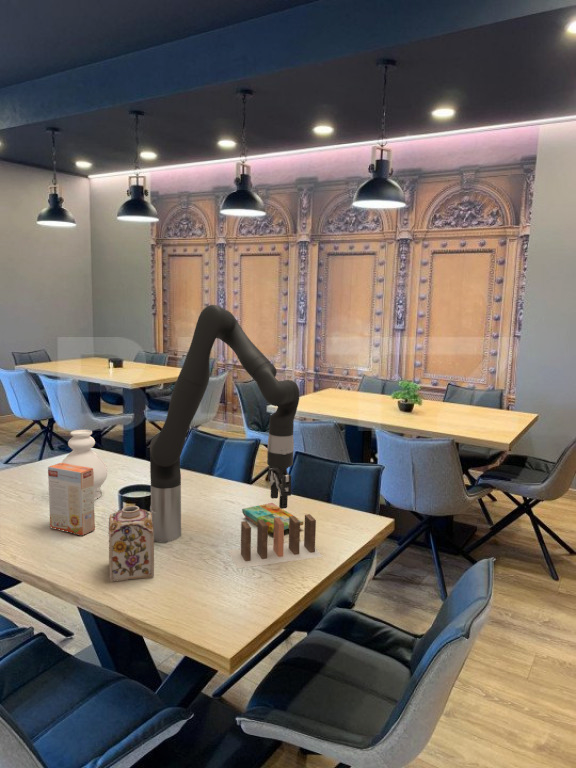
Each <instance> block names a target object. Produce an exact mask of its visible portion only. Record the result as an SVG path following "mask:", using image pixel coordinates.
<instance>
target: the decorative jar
mask: <svg viewBox="0 0 576 768" xmlns="http://www.w3.org/2000/svg"><path fill="white" fill-rule="evenodd" d="M108 520H109V521H108V566H109V567H108V568H109V570H108V571H109V575H108V577H109V582H110V581H114V582H120V581H119V580H123V581H129V580H128V579H132V580H139V579H140V578H142V579H149V578H154V576H155V541H154V529H153V522H152V521H153V520H152V514H151V512H150V510H149V511H148V510H147V509H142V508H140V507H139V506H137V505H127V506H125V507H123V508H121V510H118V511H116V512H113V513H111V514H110V515H109V517H108ZM117 580H118V581H117Z"/></svg>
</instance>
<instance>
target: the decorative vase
mask: <svg viewBox="0 0 576 768" xmlns="http://www.w3.org/2000/svg"><path fill="white" fill-rule="evenodd" d="M92 434H93V431H92V429H91V430H90V429H75V430H72V431H70V436H72V437H71V438H70V439H69V440H68V442H67V445H68V448H70V449H71V450H72V451H70V452H69V453H68V454H67V455H66V457H65V458H64V459H63V460H62V461H61V463H65V464H71V465H77V466H82V467H88V468H93V477H94V501H96V500H98V499H100V498H101V495H102V494H101V492H100V491H99V489H100V488H101V487H102V485H103V484H104V482H106V480H107V477H108V474H109V473H108V471H109V470H108V468H107V465H106V463H105V461H104V460H103V458H102V457H100V455H99V454H97V453H96V452H95V451H94V450H93V449H92V448H93V447H94V446H95V444H96V441H95V439H94V437H92V436H91V435H92ZM99 497H100V498H99ZM97 498H98V499H97ZM95 499H96V500H95Z"/></svg>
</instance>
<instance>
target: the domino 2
mask: <svg viewBox="0 0 576 768" xmlns="http://www.w3.org/2000/svg"><path fill="white" fill-rule="evenodd" d="M256 527H257V529H256V530H257V531H256V533H257V535H256V536H257V538H256V539H257V541H256V547H257V553H258V554H259V556H260V557H261V559H267V545H268V536H269V535H268V534H269V533H268V525H267V524H266V523H265V522H264V520H263V519H261V520H258V526H257V525H256Z"/></svg>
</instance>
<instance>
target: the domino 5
mask: <svg viewBox="0 0 576 768" xmlns="http://www.w3.org/2000/svg"><path fill="white" fill-rule="evenodd" d="M316 521H317V519H315V518H314V517H313V515H311V514H310V513H309V514H307V513H306V514H304V530H303V532H304V533H303V534H304V535H303V537H304V538H303V541H304V546H305V548H306V549H307V550H308V551H309V552H310V553H312V552H315V548H316V528H317V526H316V525H317V522H316Z"/></svg>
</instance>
